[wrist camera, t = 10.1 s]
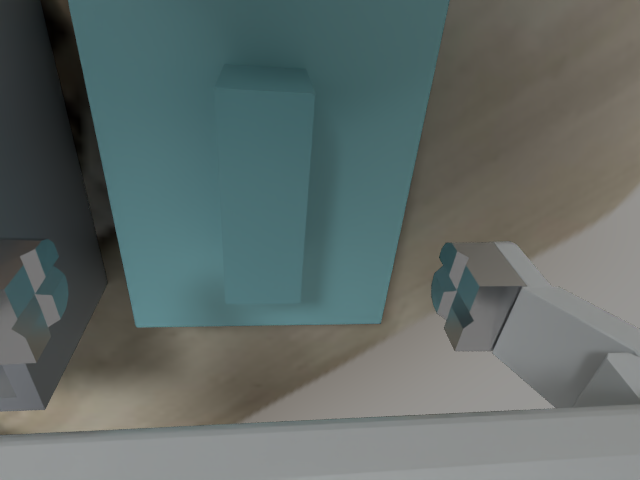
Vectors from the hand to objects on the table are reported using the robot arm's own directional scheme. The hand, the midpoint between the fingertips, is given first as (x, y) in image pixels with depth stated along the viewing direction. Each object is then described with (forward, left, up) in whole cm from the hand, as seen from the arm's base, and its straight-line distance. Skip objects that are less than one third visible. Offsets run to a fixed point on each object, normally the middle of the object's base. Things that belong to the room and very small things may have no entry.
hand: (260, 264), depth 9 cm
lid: (+1, 0, -9) cm, 9 cm away
